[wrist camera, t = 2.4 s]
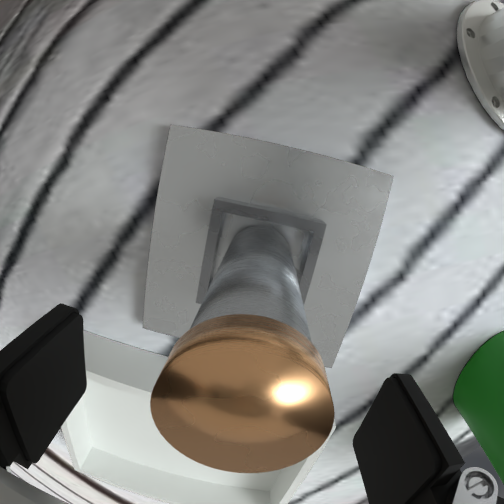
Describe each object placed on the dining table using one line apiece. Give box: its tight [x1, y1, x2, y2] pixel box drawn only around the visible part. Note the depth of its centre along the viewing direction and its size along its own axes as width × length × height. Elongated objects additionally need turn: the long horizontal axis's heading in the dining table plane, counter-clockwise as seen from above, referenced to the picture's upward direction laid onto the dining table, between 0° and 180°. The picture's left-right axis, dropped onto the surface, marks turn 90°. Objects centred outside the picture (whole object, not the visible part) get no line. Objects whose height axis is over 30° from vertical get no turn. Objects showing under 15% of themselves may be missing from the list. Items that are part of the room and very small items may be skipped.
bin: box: [61, 330, 336, 504], centre depth 23 cm, size 22×17×4 cm
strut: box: [150, 226, 334, 473], centre depth 13 cm, size 4×4×14 cm
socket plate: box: [143, 125, 394, 368], centre depth 20 cm, size 14×14×2 cm
